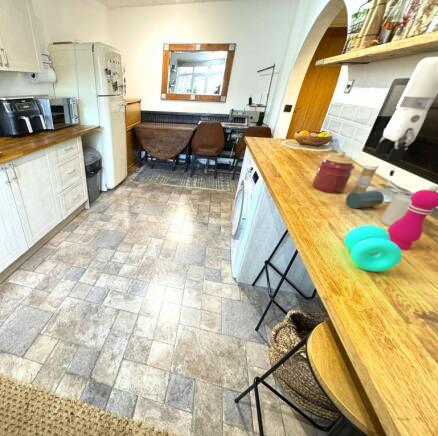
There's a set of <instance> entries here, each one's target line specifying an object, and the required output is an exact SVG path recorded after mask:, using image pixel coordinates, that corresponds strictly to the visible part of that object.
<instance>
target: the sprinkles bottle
mask: <svg viewBox="0 0 438 436" xmlns="http://www.w3.org/2000/svg"><path fill="white" fill-rule="evenodd" d="M378 169H379V165H378V164H376V163H371V162H366V163H364V166H363V169H362V171H361V173H360V175H359V177H358V179H357V181H356V183H355V185H354V188H353V189H352V192H362V191H367V189H368V188H369V186H370V184H371V182H372V179H373V177H374V175H375V173H376V171H377V170H378Z"/></svg>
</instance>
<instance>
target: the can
mask: <svg viewBox="0 0 438 436" xmlns="http://www.w3.org/2000/svg"><path fill="white" fill-rule="evenodd" d="M414 193H415V192H412V191H406V190H401V191H398V193H395V194H394V195H393V196H392V198H391V200H390V201H389V203H388V205H387V206H386V208H385V210H384V212H383V213H382V215H381V216H380V221H381V222H382V224H383V225H385V226H387V227H388V228H389V227H390V225H392V224H393V223H394V222H396V221H397V220H399V219H401V218H402V217H403V216H404V215H405V214H406V213H407V211H408V208H407V207H408V206H409V204H410V203H412V201H411V196H412V195H413V194H414Z"/></svg>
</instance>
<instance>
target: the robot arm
mask: <svg viewBox="0 0 438 436" xmlns="http://www.w3.org/2000/svg"><path fill="white" fill-rule="evenodd" d="M437 95H438V56H428V57H425V58H422V59H421V60H420V61H419V62H418V63H417V65H416V66H415V69H414V71H413V73H412V75H411V77H410V78H409V81H408V82H407V85H406V87H405V89H404V91H403V92H402V95H401V97H400V99H399V100H398V103H397V105H396V107H395V108H396V110H395V111H394V113H393V115H392V117H391V118H390V120H388V121H389V122H388V124H387V125H386V127H385V128H384V129H383V132H382V134H381V138H380V139H379V142H378V143H377V146H376V148H375V150H374V154H375V155H386V154H387V152H388V150H389V148H390V146H391V144H392V143H391V142H394V148H391V150H390V152H389V154H388V155H387V158H386V161H387V162H394V163H395V162H396V163H397V162H400V160H401V159H402V157H403V155H404V154H405V152H406V150H408V147H410V146H411V145H412V143H413V142H414V141H415V140H416V138H417V136H418V134H419V132H420V130H421V128H422V126H423V124H424V121H425V120H426V118H427V114H428V111H429V110H430V108H431V106H432V104H433V102H434V101H435V98H436V97H437Z"/></svg>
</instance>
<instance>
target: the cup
mask: <svg viewBox="0 0 438 436" xmlns="http://www.w3.org/2000/svg"><path fill="white" fill-rule="evenodd" d="M384 200H385V197H384V194H383V193H382V191H380V190H377V189H376V190H375V189H374V190H366V191H362V192H353V191H352V192H350V193H348V194H347V195H346V197H345V203H346V205H347V206H348V207H349V208H351V209H358V208H361V209H362V208H369V207H370V208H372V207H378V206H380V205H383V202H384Z"/></svg>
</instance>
